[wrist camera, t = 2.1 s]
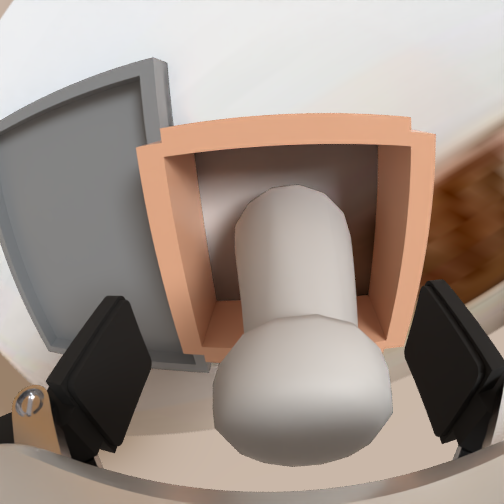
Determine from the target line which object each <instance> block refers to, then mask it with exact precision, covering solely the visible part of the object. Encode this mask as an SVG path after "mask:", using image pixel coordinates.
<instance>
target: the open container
mask: <svg viewBox="0 0 504 504" xmlns="http://www.w3.org/2000/svg"><path fill="white" fill-rule="evenodd" d="M160 134H161V141H157V142H153V143H150V144H146V145H142V146H139V147H136V152H137V159H138V165H139V171H140V177H141V183H142V188H143V194H144V199H145V204H146V209H147V214H148V219H149V224H150V229H151V234H152V238H153V243H154V247H155V251H156V256H157V260H158V264H159V268H160V272H161V276H162V280H163V284H164V288H165V291H166V295H167V299H168V303H169V306H170V310H171V313H172V317H173V320H174V324H175V327H176V330H177V334H178V337H179V340H180V344H181V347H182V350H183V353H184V354H196V355H204V357H205V361H206V362H215V363H221V362H222V360H223V359H224V358H225V357H226V355H227V354H228V353H229V352H230V350H231V349H232V348H233V346H234V345H235V344H236V343H237V341H238V340H239V339H240V337H241V336H242V335H243V334H244V327H243V316H242V305H241V300H234V301H217V300H216V294H215V288H214V283H213V277H212V271H211V265H210V259H209V253H208V246H207V240H206V234H205V227H204V220H203V214H202V207H201V200H200V193H199V185H198V178H197V170H196V163H195V155H194V153H196V152H205V151H214V150H224V149H234V148H246V147H260V146H276V145H299V144H377V145H378V182H377V207H376V224H375V237H374V249H373V259H372V268H371V277H370V285H369V293H368V295H362V296H356V300H357V318H358V328H359V329H360V330H361V331H362V332H364V333H365V334H366V335H367V336H368V337H369V338H370V339H371V340H372V341H373V342H374V343H375V344H376V345H377V346H378V347H379V348H380V349H381V351H382V354H383V351H384V349H385V348H394V347H402V346H404V343H405V339H406V336H407V332H408V329H409V325H410V321H411V318H412V314H413V310H414V306H415V302H416V297H417V293H418V288H419V284H420V279H421V274H422V269H423V263H424V258H425V252H426V246H427V239H428V233H429V225H430V217H431V208H432V198H433V186H434V171H435V142H436V134H432V133H427V132H422V131H416V130H411V117H402V116H389V115H373V114H347V113H306V114H279V115H263V116H250V117H239V118H229V119H220V120H212V121H204V122H197V123H190V124H183V125H177V126H171V127H165V128H160Z"/></svg>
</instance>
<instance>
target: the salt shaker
mask: <svg viewBox="0 0 504 504" xmlns="http://www.w3.org/2000/svg"><path fill="white" fill-rule="evenodd" d="M235 257H236V265H237V273H238V281H239V289H240V297H241V305H242V316H243V327H244V334H243V335H242V336H241V337H240V339H239V340H238V341H237V343H236V344H235V345H234V346H233V348H232V349H231V350H230V352H229V353H228V354H227V355H226V357H225V358H224V359H223V360H222V362H221V363H220V364H219V367H218V370H217V373H216V376H215V379H214V382H213V415H214V425H215V429H216V430H217V431H218V432H219V433H220V434H221V435H222V436H223V437H224V438H225V439H226V440H227V441H228V442H229V443H230V444H231V445H232V446H233V447H234V448H235V449H236V450H237V451H238V452H239V453H240V454H242V455H245V456H247V457H250V458H252V459H255V460H258V461H260V462H263V463H268V464H275V465H282V466H291V467H293V466H294V467H295V466H308V465H319V464H324V463H328V462H332V461H335V460H339V459H342V458H345V457H348V456H350V455H352V454H354V453H355V452H357V451H359V450H360V449H362V448H364V447H365V446H367V445H369V444H370V443H371V442H372V440H373V439H374V438H375V437H376V435H377V434H378V433H379V431H380V430H381V429H382V427H383V426H384V425H385V423H386V422H387V421H388V419H389V418H390V416H391V415H392V413H393V407H392V391H391V384H390V377H389V370H388V366H387V364H386V361H385V359H384V356H383V354H382V351H381V349H380V348H379V347H378V346H377V345H376V344H375V343H374V342H373V341H372V340H371V339H370V338H369V337H368V336H367V335H366V334H365V333H364V332H362V331H361V330H360V329H359V328H358V318H357V300H356V286H355V274H354V263H353V253H352V243H351V236H350V232H349V229H348V226H347V222H346V219H345V216H344V213H343V212H342V211H341V210H340V209H339V208H338V207H337V206H336V205H335V204H334V203H333V202H332V201H331V200H330V199H329V198H328V197H327V196H326V195H325V194H324V193H323V192H320V191H317V190H314V189H311V188H308V187H305V186H302V185H299V184H297V185H289V186H281V187H273V188H271V189H269V190H268V191H266V192H265V193H263V194H262V195H260V196H259V197H257V198H256V199H254V200H253V201H251V202H250V203H249V204H248V205H247V207H246V209H245V210H244V212H243V214H242V215H241V217H240V219H239V220H238V222H237V224H236V225H235Z"/></svg>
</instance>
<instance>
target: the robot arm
mask: <svg viewBox="0 0 504 504" xmlns="http://www.w3.org/2000/svg"><path fill="white" fill-rule="evenodd" d="M404 355H405V359H406V361H407V364H408V366H409V368H410V371H411V373H412V376H413V378H414V380H415V383H416V385H417V388H418V390H419V393H420V395H421V398H422V401H423V403H424V406H425V409H426V411H427V414H428V417H429V420H430V422H431V425H432V428H433V431H434V434H435V435H436V436H438V437H440V440H441V443H442V444H444V443H447V442H450V441H453V440H456V439H457V442H458V448H457V450H456V453H455V455H454V458H453V460H452V461H449V462H446V463H443V464H440V465H437V466H433V467H431V468H427V469H424V470H420V471H417V472H413V473H410V474H406V475H402V476H398V477H393V478H389V479H385V480H380V481H375V482H370V483H364V484H358V485H352V486H345V487H337V488H330V489H320V490H308V491H292V492H240V491H223V490H211V489H202V488H192V487H186V486H179V485H172V484H166V483H161V482H155V481H151V480H145V479H141V478H137V477H132V476H128V475H124V474H121V473H117V472H113V471H109V470H106V469H104V468H103V466H102V464H101V461H100V458H99V456H98V452H99V449H101V450H105V451H108V452H112V453H115V451H116V448H117V446H120V445H121V444H122V442H123V440H124V437H125V434H126V432H127V429H128V426H129V424H130V421H131V418H132V416H133V413H134V410H135V408H136V405H137V403H138V400H139V397H140V395H141V392H142V390H143V387H144V385H145V382H146V380H147V377H148V375H149V372H150V370H151V366H152V361H151V357H150V355H149V352H148V350H147V347H146V345H145V342H144V340H143V337H142V335H141V332H140V329H139V327H138V324H137V321H136V318H135V316H134V313H133V310H132V307H131V304H130V302H129V301H128V300H126V299H125V298H124V297H123V296H106V297H105V298H104V299H103V300H102V302H101V303H100V304H99V306H98V307H97V308H96V310H95V311H94V312H93V314H92V315H91V316H90V318H89V319H88V320H87V322H86V323H85V324H84V326H83V327H82V329H81V330H80V331H79V333H78V334H77V336H76V337H75V338H74V340H73V341H72V343H71V344H70V346H69V347H68V348H67V350H66V351H65V353H64V354H63V356H62V357H61V359H60V360H59V362H58V363H57V365H56V366H55V368H54V369H53V371H52V372H51V374H50V375H49V377H48V378H47V380H46V382H47V384H48V385H49V388H48V390H46V389H45V388H44V387H43V386H40V385H30V386H27V387H25V388H24V389H22V390H21V391H20V392H18V394H17V395H16V397H15V398H14V400H13V403H12V412H11V413H8V414H6V415H4V416H2V417H0V504H504V359H503V358H502V356H501V355H500V353H499V352H498V350H497V349H496V347H495V346H494V344H493V343H492V341H491V340H490V339H489V337H488V336H487V334H486V333H485V331H484V330H483V329H482V327H481V326H480V325H479V323H478V322H477V321H476V319H475V318H474V317H473V315H472V314H471V313H470V311H469V310H468V309H467V307H466V306H465V305H464V304H463V302H462V301H461V300H460V299H459V297H458V296H457V295H456V294H455V292H454V291H453V290H452V289H451V288H450V286H449V285H448V284H447V283H446V282H445V281H444V280H433V281H427V282H426V284H425V286H423V287H422V288H421V290H420V294H419V298H418V302H417V306H416V310H415V314H414V318H413V322H412V325H411V329H410V332H409V336H408V339H407V342H406V346H405V350H404Z"/></svg>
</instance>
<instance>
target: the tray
mask: <svg viewBox="0 0 504 504" xmlns="http://www.w3.org/2000/svg"><path fill="white" fill-rule="evenodd" d="M171 126H173V117H172V108H171V99H170V89H169V78H168V67H167V63H166V62H164V61H161V60H159V59H156V58H149V59H145V60H141V61H138V62H134V63H131V64H128V65H124V66H121V67H118V68H115V69H112V70H109V71H106V72H103V73H100V74H98V75H95V76H92V77H89V78H87V79H84V80H82V81H79V82H77V83H74V84H72V85H69V86H67V87H65V88H63V89H60V90H58V91H56V92H54V93H51V94H49V95H47V96H45V97H43V98H41V99H39V100H37V101H35V102H33V103H31V104H29V105H27V106H25V107H23V108H21V109H20V110H18V111H16V112H14V113H12V114H11V115H9V116H7V117H5V118H4V119H2V120H0V243H1V246H2V249H3V252H4V255H5V258H6V260H7V263H8V266H9V268H10V271H11V274H12V276H13V279H14V281H15V284H16V286H17V288H18V291H19V293H20V295H21V297H22V300H23V302H24V304H25V306H26V308H27V310H28V313H29V315H30V317H31V319H32V321H33V323H34V325H35V327H36V329H37V330H38V332H39V334H40V336H41V338H42V340H43V342H44V343H45V345H46V347H47V349H48V351H50V352H55V353H60V354H64V353H65V351H66V350H67V348H68V347H69V346H70V344H71V343H72V341H73V340H74V338H75V337H76V336H77V334H78V333H79V331H80V330H81V329H82V327H83V326H84V324H85V323H86V322H87V320H88V319H89V318H90V316H91V315H92V314H93V312H94V311H95V310H96V308H97V307H98V306H99V304H100V303H101V302H102V300H103V299H104V298H105V297H106V296H123V297H124V298H125V299H126V300H128V301H129V302H130V304H131V307H132V310H133V313H134V316H135V318H136V321H137V324H138V327H139V329H140V332H141V335H142V337H143V340H144V342H145V345H146V347H147V350H148V352H149V355H150V357H151V361H152V366H151V368H155V369H165V370H176V371H189V372H205V373H209V371H210V367H211V363H212V362H206V361H205V357H204V355H196V354H184V353H183V350H182V347H181V344H180V340H179V337H178V334H177V330H176V327H175V324H174V320H173V317H172V313H171V310H170V306H169V303H168V299H167V295H166V291H165V288H164V284H163V280H162V276H161V272H160V268H159V264H158V260H157V256H156V251H155V247H154V243H153V238H152V234H151V229H150V224H149V219H148V214H147V209H146V204H145V199H144V194H143V188H142V183H141V177H140V171H139V165H138V159H137V152H136V147H139V146H142V145H146V144H150V143H153V142H157V141H161V134H160V128H165V127H171Z"/></svg>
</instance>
